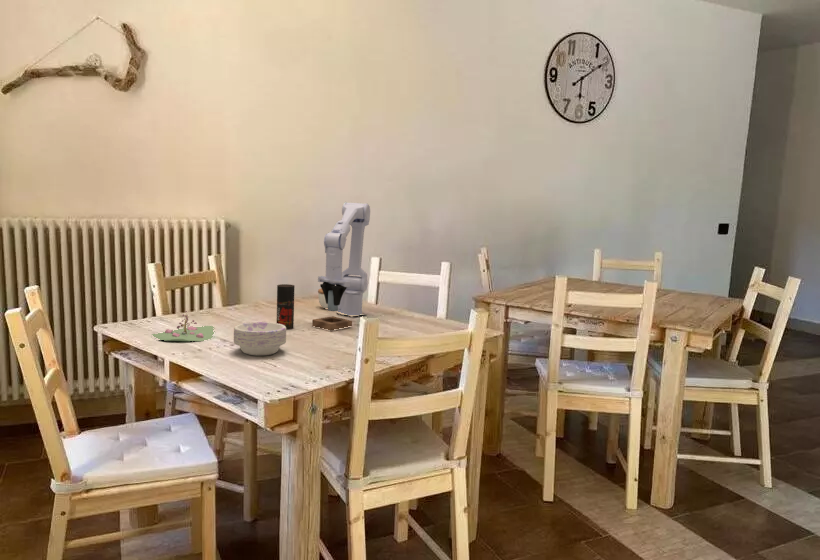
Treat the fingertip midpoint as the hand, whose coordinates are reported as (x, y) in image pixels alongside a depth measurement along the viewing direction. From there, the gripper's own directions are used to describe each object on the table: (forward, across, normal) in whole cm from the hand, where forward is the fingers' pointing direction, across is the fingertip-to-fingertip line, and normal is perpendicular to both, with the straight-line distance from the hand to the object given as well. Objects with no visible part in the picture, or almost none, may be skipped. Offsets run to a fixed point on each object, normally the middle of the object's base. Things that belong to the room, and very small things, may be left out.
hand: (332, 304), depth 226 cm
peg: (+2, 0, 0) cm, 2 cm away
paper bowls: (+9, +12, -40) cm, 43 cm away
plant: (+9, -21, -44) cm, 50 cm away
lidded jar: (+8, -26, +23) cm, 36 cm away
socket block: (+8, 0, 0) cm, 8 cm away
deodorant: (+8, -9, -14) cm, 19 cm away
